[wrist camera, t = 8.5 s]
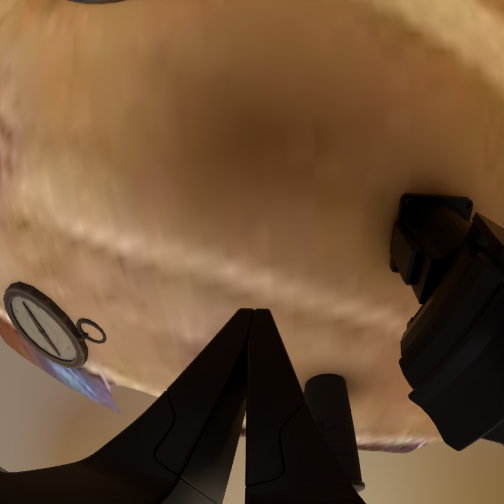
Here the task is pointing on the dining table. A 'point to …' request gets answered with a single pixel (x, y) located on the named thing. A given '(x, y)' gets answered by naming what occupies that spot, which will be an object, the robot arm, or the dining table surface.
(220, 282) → the dining table surface
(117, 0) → the base plate
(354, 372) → the dining table surface
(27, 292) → the compass
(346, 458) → the drinking cup
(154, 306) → the dining table surface
